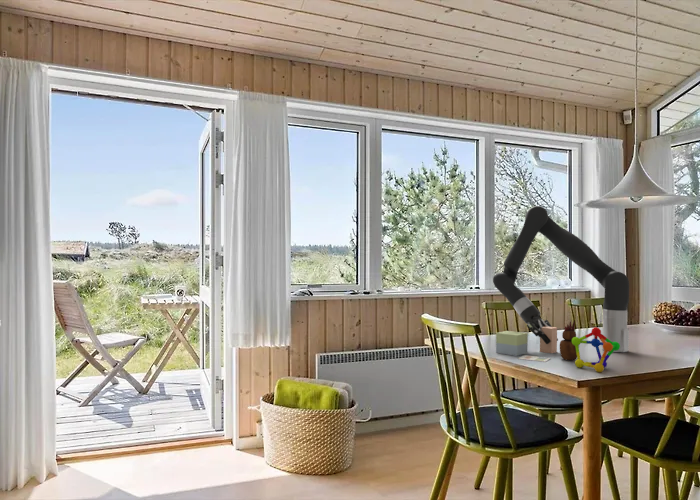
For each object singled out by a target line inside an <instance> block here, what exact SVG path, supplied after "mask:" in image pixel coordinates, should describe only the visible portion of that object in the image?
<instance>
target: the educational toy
mask: <svg viewBox="0 0 700 500" xmlns="http://www.w3.org/2000/svg"><path fill="white" fill-rule="evenodd" d="M591 336H594V338H592V339H591V340H586V339H588V338H589V337H591ZM606 341H607V342H606ZM572 344H573V345H575V347H576V353H577V358H576V360H574V365H575V367H577V368H578V369H581V368H583V367H587V368H590V369H591V368H592V369H594V371H596V373H602V372H604V369H605V368H606V367H607V364H608V362H607V361H608V359H609V357H611V355H612V354H613V353H614V352H613V351H617V350H619V348H620V344H619V343H618V342H611V341H610V340H609V339H607V338H606V337H605V336H604V335H603V333H602V330H601V328H599V327H597V326H596V327H593V328H592V329H591V332H589V333H587V334H584V335H583V336H581V337H578V336H576V337H574V338H572ZM580 344H587V345H588V344H589V345H591V346H592V347H594V348H595V349H596V354H597V356H598V360H597V361H596V362H595V361H594V362H593V361H589V362H588V361H584V360H583V359H581V355H580V348H579V347H580ZM578 345H579V346H578ZM602 345H603V346H602ZM600 346H602V350H603V349H604V350H603V353H602V352H601V350H600V348H599V347H600ZM601 353H602V354H601Z"/></svg>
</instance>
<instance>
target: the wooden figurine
mask: <svg viewBox="0 0 700 500" xmlns="http://www.w3.org/2000/svg"><path fill="white" fill-rule="evenodd" d="M575 329H576V320H573V322H572V321H569V324H567V325H566V326H564V330H563V331H562V333H561V335H562V338H563V339H562V340H560V342H559V352H560V356H561V359H562V360H564V361H570V362H571V361H576V360H577V353H576V347H575V345H573V344H572V338H574V337H577V333H576V331H575ZM578 346H579V347H580V345H578Z"/></svg>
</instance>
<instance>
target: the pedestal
mask: <svg viewBox="0 0 700 500" xmlns="http://www.w3.org/2000/svg"><path fill="white" fill-rule="evenodd" d="M528 335H529V334H528V333H527V332H519V331H511V330H503V331H499V332H496V335H495V336H496V337H495V338H496V339H495V341H496V342H495V353H496V354H502V355H509V356H515V357H518V356H521V355H522V356H523V355H526V354H528Z"/></svg>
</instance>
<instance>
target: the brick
mask: <svg viewBox="0 0 700 500" xmlns="http://www.w3.org/2000/svg"><path fill="white" fill-rule="evenodd" d="M542 330H543V331H544V333H545V334H546V335H547V337H548V338H549V339H550V340H551V342H550V343H549V344H546V343H545V342H544V341H543V339H542V338H541V337H539V353H545V354H546V353H547V354H554V353H557V352H558V341H557V338H558V327H556V326H552V327H546V326H545V327H542Z"/></svg>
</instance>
